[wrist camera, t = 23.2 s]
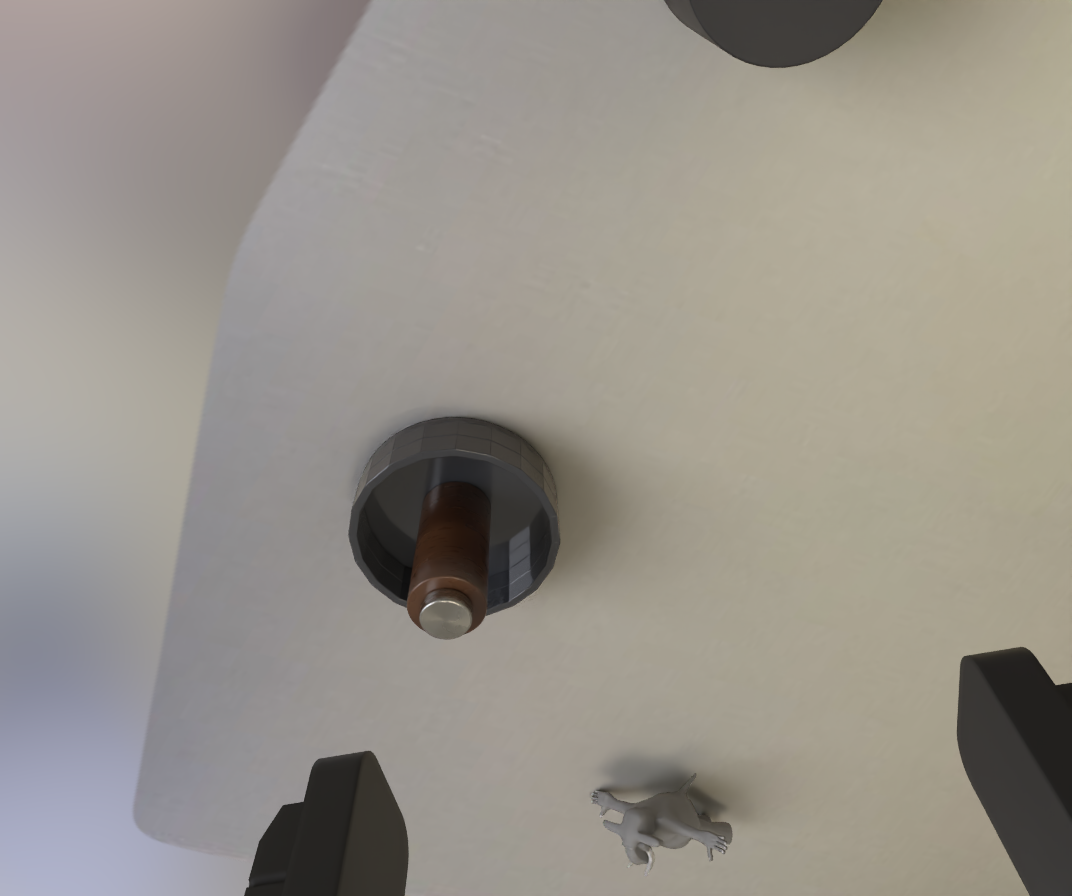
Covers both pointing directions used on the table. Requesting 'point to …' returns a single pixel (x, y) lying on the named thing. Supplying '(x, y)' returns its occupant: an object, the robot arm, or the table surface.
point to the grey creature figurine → (662, 825)
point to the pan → (457, 456)
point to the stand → (775, 27)
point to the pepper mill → (451, 561)
